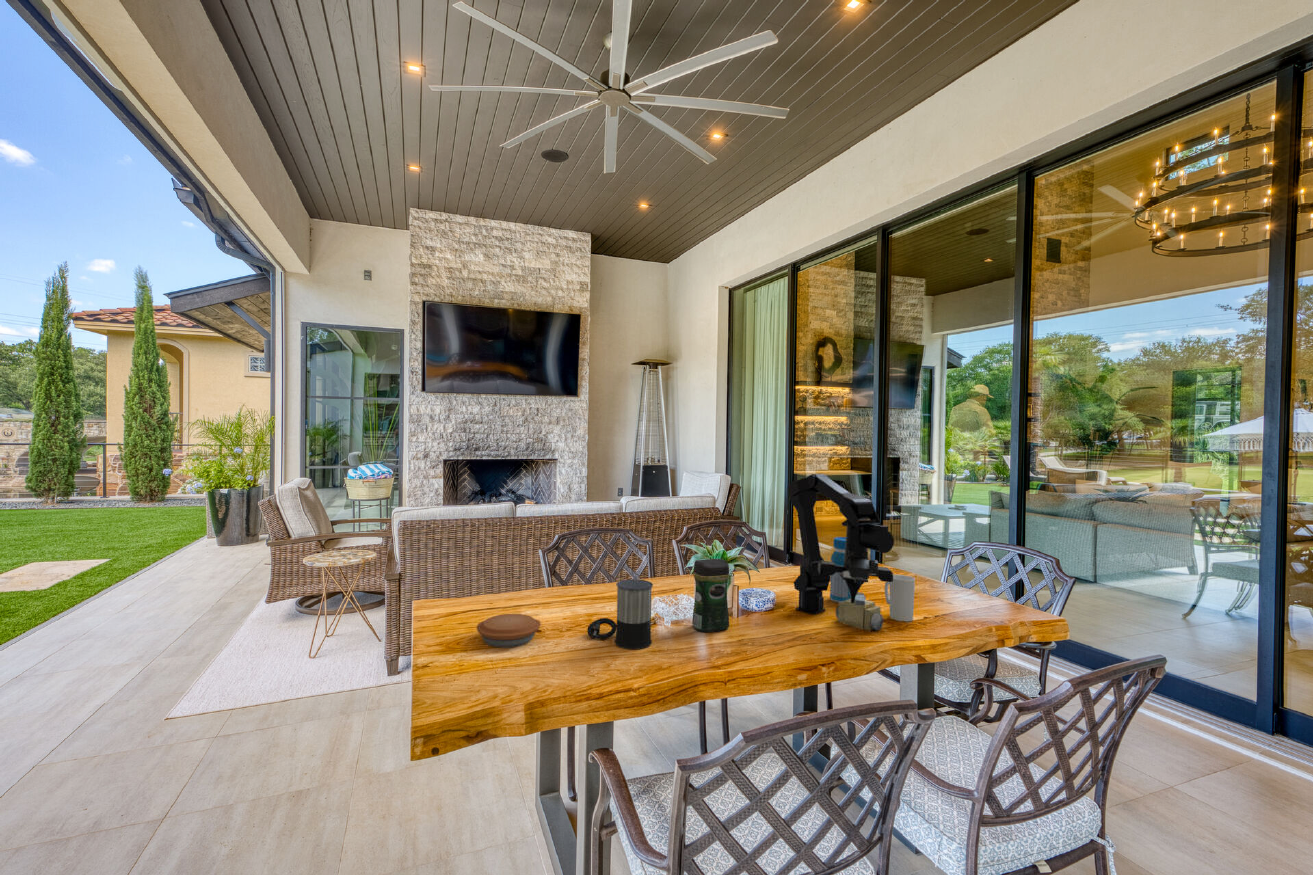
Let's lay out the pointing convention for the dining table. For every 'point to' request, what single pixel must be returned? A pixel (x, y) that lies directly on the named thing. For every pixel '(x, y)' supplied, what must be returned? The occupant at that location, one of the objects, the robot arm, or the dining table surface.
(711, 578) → the coffee jar
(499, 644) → the pie
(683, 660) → the dining table surface
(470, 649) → the dining table surface
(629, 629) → the milk frother
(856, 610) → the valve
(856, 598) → the lever
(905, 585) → the mug
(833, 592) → the beverage bottle
